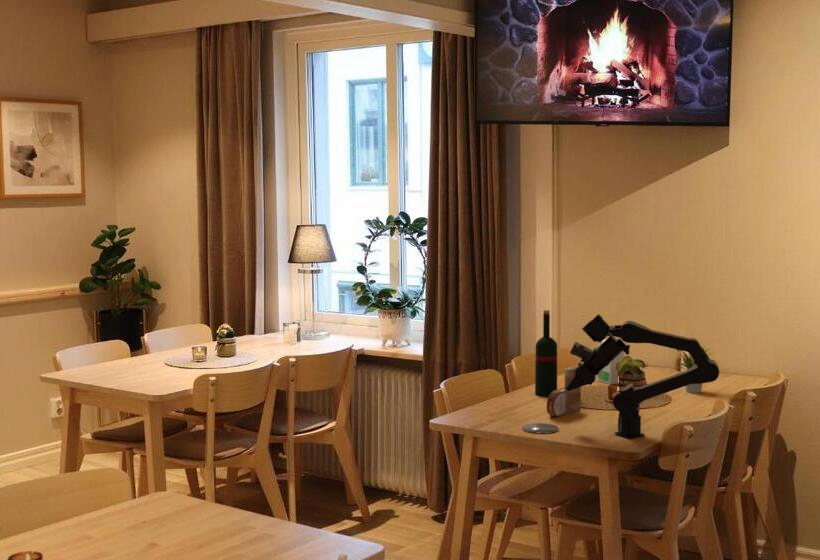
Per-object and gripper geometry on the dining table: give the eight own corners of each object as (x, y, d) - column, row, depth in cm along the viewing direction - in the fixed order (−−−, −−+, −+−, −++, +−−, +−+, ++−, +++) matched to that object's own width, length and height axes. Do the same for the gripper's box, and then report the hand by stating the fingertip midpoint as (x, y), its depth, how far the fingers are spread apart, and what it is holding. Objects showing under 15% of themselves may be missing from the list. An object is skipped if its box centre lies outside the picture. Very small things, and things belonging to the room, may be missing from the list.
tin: (569, 409, 343) (569, 384, 342) (577, 410, 341) (578, 385, 340) (545, 418, 331) (545, 392, 330) (553, 419, 329) (554, 393, 328)
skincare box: (596, 380, 389) (597, 339, 387) (611, 378, 392) (611, 338, 390) (610, 384, 382) (610, 343, 380) (624, 382, 384) (625, 341, 383)
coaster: (565, 430, 315) (565, 428, 315) (536, 435, 309) (536, 433, 309) (543, 423, 324) (543, 421, 324) (515, 427, 319) (515, 426, 319)
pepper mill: (583, 412, 311) (584, 369, 310) (571, 413, 309) (571, 371, 307) (573, 408, 315) (573, 367, 314) (561, 410, 313) (561, 368, 312)
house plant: (721, 389, 371) (722, 344, 369) (713, 397, 359) (714, 350, 357) (681, 386, 377) (682, 342, 376) (672, 393, 365) (673, 348, 363)
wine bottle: (562, 392, 369) (563, 309, 366) (552, 397, 360) (553, 312, 357) (542, 390, 373) (542, 307, 370) (531, 395, 364) (531, 311, 361)
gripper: (589, 329, 318) (552, 363, 322) (583, 338, 300) (545, 374, 304) (614, 355, 316) (578, 389, 320) (610, 366, 298) (571, 402, 302)
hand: (567, 388), depth 312 cm, fingers closed on pepper mill, 5 cm apart
